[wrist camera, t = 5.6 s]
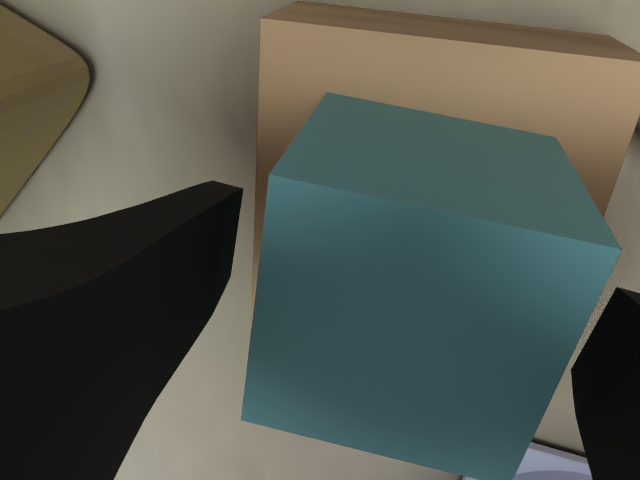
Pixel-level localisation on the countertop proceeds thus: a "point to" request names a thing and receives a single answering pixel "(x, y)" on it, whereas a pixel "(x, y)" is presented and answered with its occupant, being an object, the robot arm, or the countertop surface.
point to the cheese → (33, 98)
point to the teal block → (421, 285)
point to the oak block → (447, 82)
